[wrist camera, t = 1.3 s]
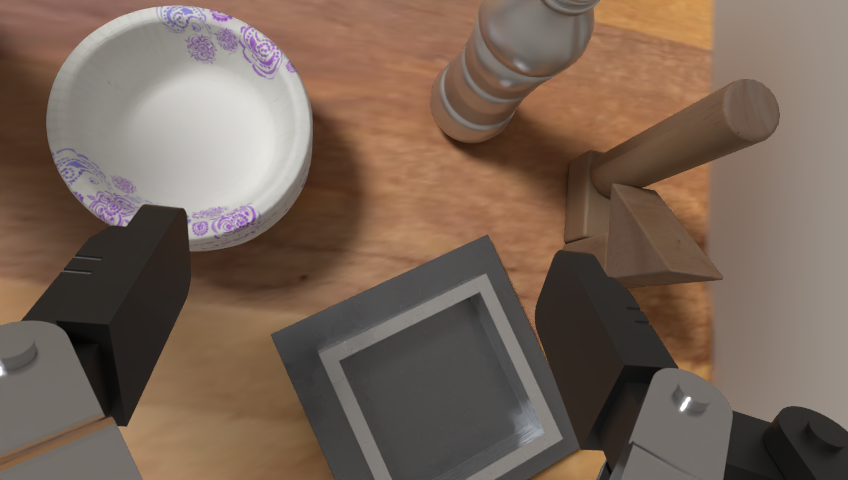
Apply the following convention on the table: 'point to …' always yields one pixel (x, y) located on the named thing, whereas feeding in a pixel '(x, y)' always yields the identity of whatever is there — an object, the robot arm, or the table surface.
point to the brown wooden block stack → (644, 209)
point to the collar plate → (430, 377)
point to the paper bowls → (182, 123)
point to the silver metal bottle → (508, 62)
